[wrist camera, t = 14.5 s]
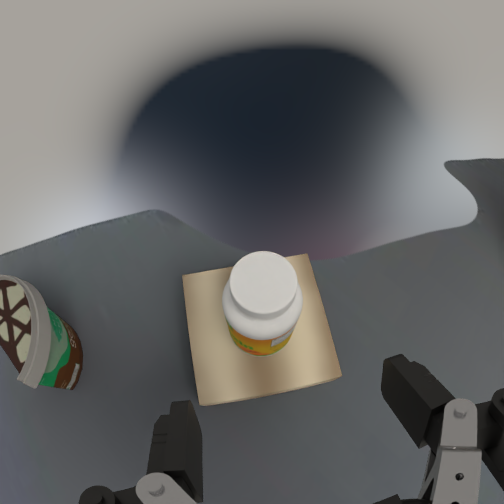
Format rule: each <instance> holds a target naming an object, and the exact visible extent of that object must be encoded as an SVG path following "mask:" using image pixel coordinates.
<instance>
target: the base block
mask: <svg viewBox="0 0 504 504" xmlns="http://www.w3.org/2000/svg"><path fill="white" fill-rule="evenodd" d="M284 258H285V259H287V260H288V261H289V262H290V264H291V265H292V266H293V268H294V270H295V272H296V275H297V280H298V283H299V285H300V288H301V291H302V296H303V306H302V311H301V314H300V316H299V319H298V321H297V324H296V326H295V329H294V331H293V333H292V336H291V338H290V340H289V341H288V343H287V344H286V346H285V347H284V348H283V349H281V350H280V351H279V352H277V353H275V354H273V355H270V356H265V357H256V356H252V355H249V354H246V353H245V352H243V351H241V350H240V349H239V348H238V347H237V346H236V345H235V343H234V342H233V340H232V338H231V335H230V332H229V329H228V325H227V321H226V318H225V315H224V311H223V306H222V295H223V290H224V287H225V285H226V283H227V281H228V280H229V278H230V274H231V271H232V269H233V267H228V268H222V269H216V270H210V271H205V272H199V273H193V274H187V275H182V276H183V286H184V296H185V305H186V314H187V322H188V330H189V338H190V345H191V353H192V360H193V367H194V373H195V380H196V386H197V393H198V399H199V405H203V406H209V405H217V404H223V403H230V402H236V401H242V400H248V399H253V398H259V397H264V396H269V395H274V394H279V393H284V392H288V391H293V390H297V389H301V388H306V387H310V386H314V385H318V384H322V383H325V382H329V381H333V380H335V379H337V378H339V377H341V376H342V373H341V370H340V366H339V362H338V358H337V354H336V351H335V347H334V343H333V340H332V336H331V332H330V329H329V325H328V321H327V318H326V314H325V311H324V307H323V304H322V301H321V297H320V294H319V290H318V287H317V284H316V280H315V277H314V274H313V270H312V267H311V264H310V261H309V257H308V254H301V255H296V256H290V257H284Z"/></svg>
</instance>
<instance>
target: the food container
mask: <svg viewBox="0 0 504 504" xmlns="http://www.w3.org/2000/svg"><path fill="white" fill-rule="evenodd" d="M0 345H1V346H2V348H3V349H4V351H5V352H6V354H7V355H8V357H9V358H10V360H11V361H12V363H13V364H14V366H15V367H16V369H17V370H18V372H19V373H20V374H19V376H18V378H17V380H19V381H22V382H23V383H24V384H26V385H28V386H30V387H32V388H34V389H36V387H37V386H38V385H43V386H49V387H56V388H62V389H69V390H73V389H74V387H75V386H76V384H77V383H78V380H79V377H80V374H81V371H82V364H83V352H82V347H81V342H80V340H79V338H78V336H77V334H76V332H75V331H74V329H73V328H72V327H71V326H69V325H68V324H67V323H66V322H65V321H63V320H62V319H61V318H60V317H59V316H57V315H56V314H55V313H54V312H53V311H51V310H50V309H49V308H48V307H47V306H46V304H45V301H44V299H43V297H42V296H41V294H40V293H39V291H38V290H37V289H36V288H35V287H34V286H33V285H31V284H30V283H28V282H26V281H24V280H21V279H19V278H16V277H14V276H8V275H0Z"/></svg>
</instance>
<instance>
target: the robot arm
mask: <svg viewBox="0 0 504 504" xmlns="http://www.w3.org/2000/svg"><path fill="white" fill-rule="evenodd" d="M381 392H382V395H383V398H384V399H385V401H386V402H387V404H388V405H389V407H390V408H391V409H392V411H393V412H394V414H395V415H396V416H397V418H398V419H399V421H400V422H401V424H402V425H403V426H404V428H405V429H406V431H407V432H408V434H409V435H410V437H411V438H412V439H413V441H414V442H415V444H416V445H417V447H418V448H421V447H424V446H426V445H429V447H430V451H429V455H428V460H427V465H426V470H425V474H424V479H423V483H422V487H421V490H420V493H419V495H418V498H417V499H403V500H400V498H399V496H398V494H396V495H394V496H391V497H389V498H387V499H384V500H381V501H379V502H376V503H374V504H477V501H478V493H479V484H480V473H481V459H482V460H483V462H484V463H485V465H486V466H487V467H488V469H489V470H490V472H491V473H492V475H493V476H494V478H495V479H496V480H497V482H498V483H499V485H500V486H501V488H502V489H503V491H504V388H503V389H499V390H497V391H496V392H495V393H494V395H493V397H492V400H491V401H488V402H484V403H480V404H474V403H473V402H471V401H469V400H467V399H462V398H460V399H456V398H455V397H454V396H453V395H452V394H451V393H450V392H449V391H448V390H447V389H446V388H445V387H444V386H443V385H442V384H441V383H440V382H439V381H438V380H436V378H435V377H434V376H433V375H432V374H431V373H430V372H429V371H428V370H427V368H426V367H425V366H423V365H421V364H419V363H417V362H415V361H413V362H409V360H408V359H407V358H406V357H405V356H404V355H402V354H399V355H396V356H393V357H390V358H387V359H385V360H384V363H383V373H382V382H381ZM199 502H203V476H202V433H201V428H200V425H199V422H198V419H197V416H196V414H195V411H194V408H193V405H192V403H191V401H190V400H186V401H177V402H172V403H171V407H170V415H161V416H160V417H159V419H158V420H157V422H156V423H155V425H154V431H153V437H152V444H151V449H150V455H149V462H148V468H147V474H146V475H145V476H144V477H142V478H141V479H140V480H139V481H138V483H137V485H136V486H135V487H133V488H129V489H125V490H121V491H116V492H112V491H111V490H110V489H109V488H107V487H104V486H92V487H90V488H88V489H86V490H85V491H84V492H83V493H82V494H81V496H80V500H79V504H197V503H199Z"/></svg>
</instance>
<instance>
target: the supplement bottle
mask: <svg viewBox="0 0 504 504" xmlns="http://www.w3.org/2000/svg"><path fill="white" fill-rule="evenodd" d="M222 306H223V311H224V315H225V318H226V321H227V325H228V329H229V332H230V335H231V338H232V340H233V342H234V343H235V345H236V346H237V347H238V348H239V349H240V350H241V351H243V352H245V353H246V354H249V355H252V356H256V357H265V356H270V355H273V354H275V353H277V352H279V351H280V350H281V349H283V348H284V347H285V346H286V344H287V343H288V341H289V340H290V338H291V336H292V333H293V331H294V329H295V326H296V324H297V321H298V319H299V316H300V314H301V311H302V306H303V296H302V291H301V288H300V285H299V283H298V280H297V275H296V272H295V270H294V268H293V266H292V265H291V264H290V262H289V261H288V260H287V259H285V258H284V257H282V256H281V255H279V254H276V253H273V252H269V251H258V252H253V253H250V254H248V255H246V256H244V257H243V258H241V259H240V260H239V261H238V262H237V263H236V264H235V266H234V267H233V269H232V271H231V274H230V278H229V280H228V281H227V283H226V285H225V287H224V290H223V295H222Z"/></svg>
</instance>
